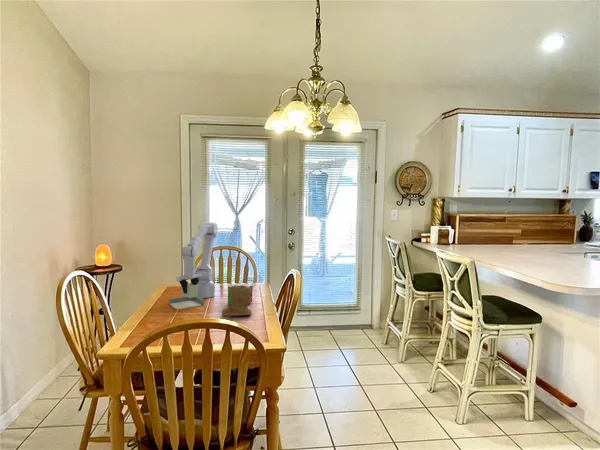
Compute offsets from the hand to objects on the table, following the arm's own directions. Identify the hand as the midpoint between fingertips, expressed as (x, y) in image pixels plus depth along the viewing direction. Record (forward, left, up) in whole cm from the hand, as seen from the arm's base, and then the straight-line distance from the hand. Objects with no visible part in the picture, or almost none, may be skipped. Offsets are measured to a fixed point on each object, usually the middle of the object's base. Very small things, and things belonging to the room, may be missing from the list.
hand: (189, 292), depth 211 cm
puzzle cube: (-24, +13, -7) cm, 28 cm away
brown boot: (-13, +29, -7) cm, 33 cm away
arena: (+1, -1, -7) cm, 7 cm away
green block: (0, 0, -2) cm, 2 cm away
